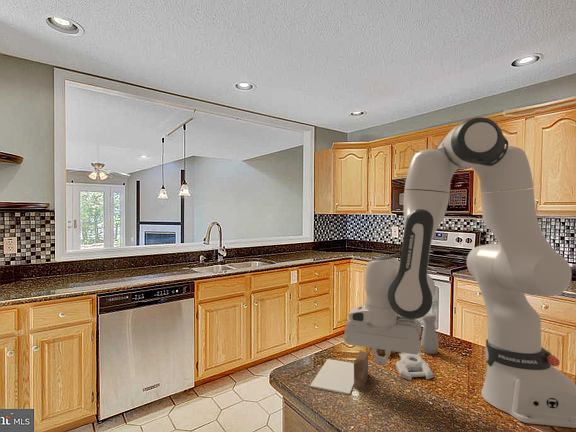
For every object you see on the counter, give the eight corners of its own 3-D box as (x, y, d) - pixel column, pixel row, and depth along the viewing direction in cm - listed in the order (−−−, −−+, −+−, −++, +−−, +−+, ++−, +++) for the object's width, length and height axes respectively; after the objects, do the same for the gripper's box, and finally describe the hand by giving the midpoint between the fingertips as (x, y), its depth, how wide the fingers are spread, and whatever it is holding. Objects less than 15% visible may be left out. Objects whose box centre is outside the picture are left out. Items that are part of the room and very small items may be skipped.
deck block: (368, 373, 97) (367, 352, 97) (362, 388, 88) (362, 364, 88) (360, 372, 97) (359, 350, 98) (354, 387, 89) (353, 363, 89)
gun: (388, 344, 110) (419, 345, 109) (388, 354, 110) (419, 355, 109) (402, 372, 92) (438, 374, 91) (401, 384, 92) (438, 386, 91)
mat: (361, 365, 102) (361, 364, 102) (349, 394, 85) (349, 393, 85) (327, 360, 106) (327, 358, 106) (309, 386, 89) (309, 385, 89)
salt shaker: (418, 348, 115) (417, 311, 115) (434, 348, 114) (434, 311, 114) (424, 355, 109) (424, 316, 109) (441, 355, 109) (441, 316, 109)
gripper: (421, 315, 90) (421, 365, 89) (347, 307, 97) (347, 353, 97) (421, 322, 84) (421, 376, 84) (343, 313, 91) (342, 362, 91)
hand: (381, 364), depth 90 cm, fingers closed
